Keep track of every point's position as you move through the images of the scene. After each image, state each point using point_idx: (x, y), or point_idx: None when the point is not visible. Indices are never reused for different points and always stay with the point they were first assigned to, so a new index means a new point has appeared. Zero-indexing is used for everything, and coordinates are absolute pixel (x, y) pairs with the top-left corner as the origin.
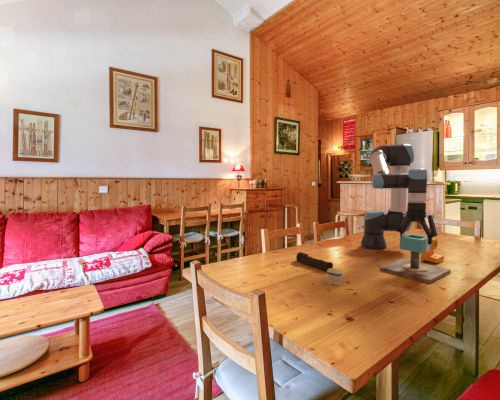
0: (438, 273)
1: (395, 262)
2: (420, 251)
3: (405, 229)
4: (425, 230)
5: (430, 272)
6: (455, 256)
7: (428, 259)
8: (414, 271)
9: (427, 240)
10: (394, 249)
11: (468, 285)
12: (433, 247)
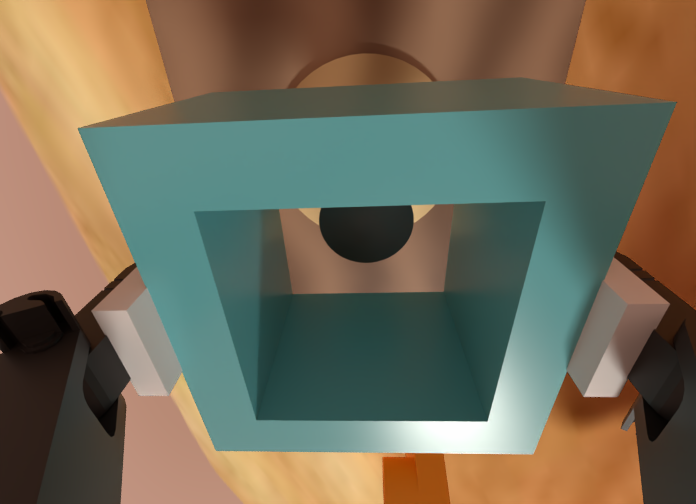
0: None
1: None
2: (220, 92)
3: (675, 458)
4: (4, 482)
5: None
6: (353, 485)
7: None
8: (322, 66)
9: (131, 277)
10: (608, 438)
11: (49, 150)
12: (383, 461)
